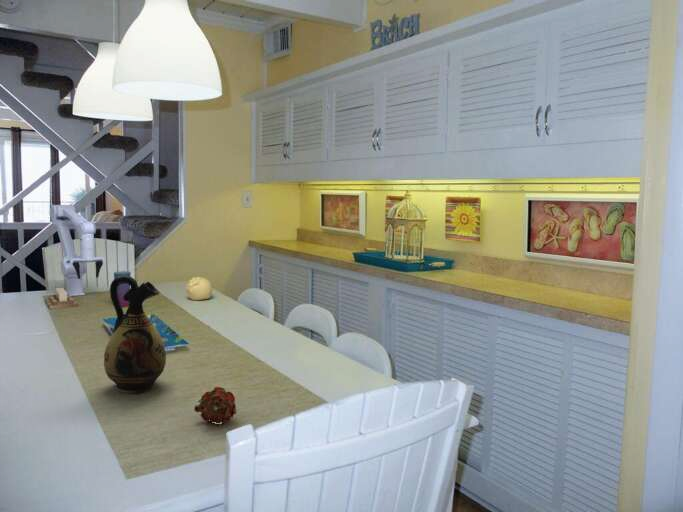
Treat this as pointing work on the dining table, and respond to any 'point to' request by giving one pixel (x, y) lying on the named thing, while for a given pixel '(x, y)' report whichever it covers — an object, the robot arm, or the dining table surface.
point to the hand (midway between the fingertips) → (88, 277)
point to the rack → (61, 302)
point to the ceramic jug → (134, 341)
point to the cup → (122, 288)
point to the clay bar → (61, 294)
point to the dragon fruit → (217, 405)
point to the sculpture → (199, 288)
